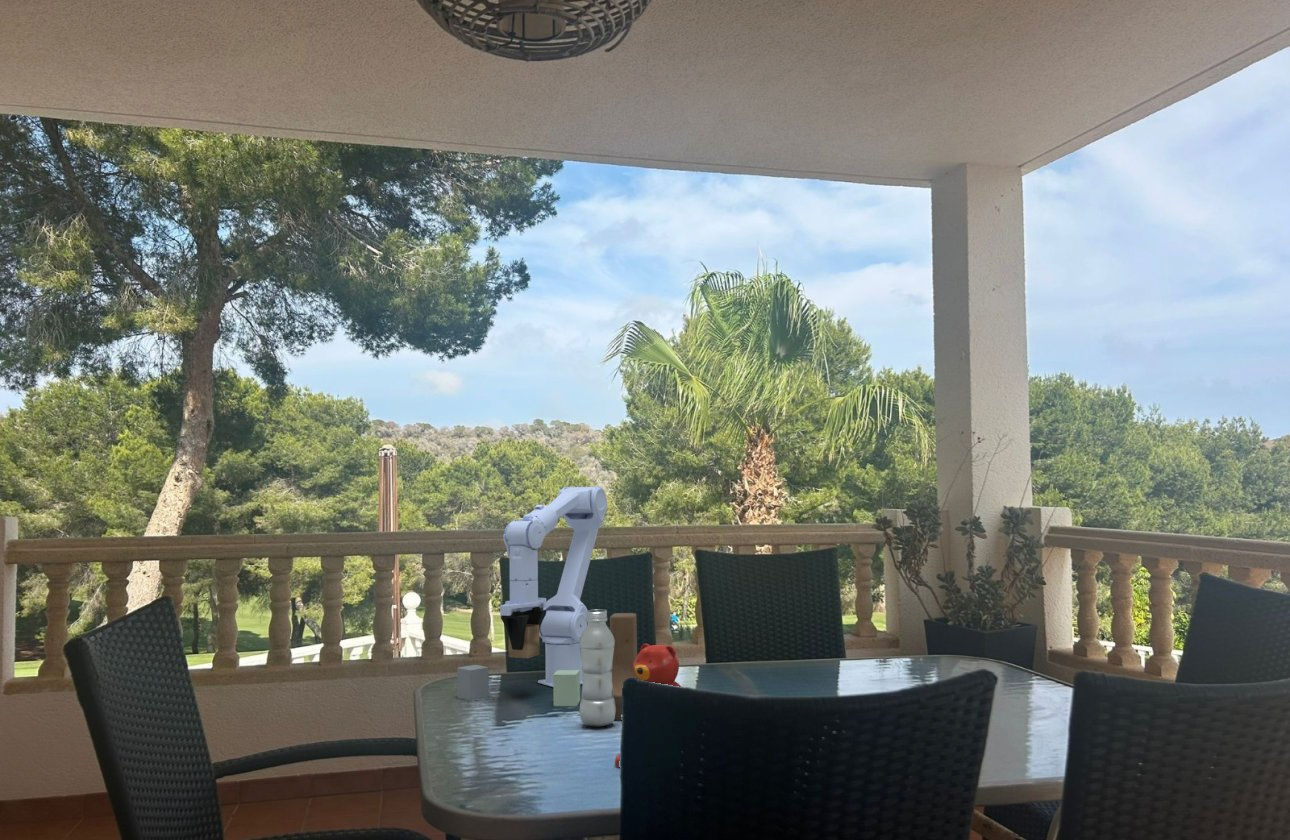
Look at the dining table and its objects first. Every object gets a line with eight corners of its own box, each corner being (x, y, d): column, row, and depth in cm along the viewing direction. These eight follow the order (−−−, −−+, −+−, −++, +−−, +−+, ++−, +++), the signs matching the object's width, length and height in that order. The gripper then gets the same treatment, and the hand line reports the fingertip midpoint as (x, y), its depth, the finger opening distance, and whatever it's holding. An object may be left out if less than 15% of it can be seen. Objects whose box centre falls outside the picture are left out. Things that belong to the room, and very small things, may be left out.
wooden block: (631, 721, 167) (630, 619, 169) (606, 720, 168) (605, 619, 169) (638, 709, 176) (636, 612, 178) (614, 709, 177) (613, 612, 178)
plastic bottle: (618, 721, 167) (617, 608, 169) (613, 730, 161) (612, 613, 162) (583, 721, 168) (581, 608, 170) (576, 730, 161) (575, 613, 163)
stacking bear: (608, 765, 140) (607, 645, 141) (656, 752, 147) (654, 637, 148) (660, 780, 132) (657, 653, 134) (707, 765, 139) (705, 644, 141)
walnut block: (520, 653, 192) (520, 623, 192) (539, 654, 190) (539, 624, 191) (508, 657, 188) (508, 626, 188) (527, 658, 186) (527, 627, 186)
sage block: (557, 701, 185) (557, 670, 185) (580, 701, 185) (579, 670, 185) (553, 706, 180) (553, 674, 181) (576, 706, 180) (576, 674, 181)
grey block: (475, 694, 192) (475, 664, 193) (488, 697, 189) (488, 667, 190) (457, 697, 189) (457, 667, 190) (470, 701, 186) (470, 670, 187)
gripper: (525, 576, 198) (526, 641, 197) (487, 582, 185) (487, 652, 184) (554, 577, 196) (555, 642, 194) (517, 583, 182) (517, 654, 181)
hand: (524, 647), depth 189 cm, fingers closed on walnut block, 4 cm apart
